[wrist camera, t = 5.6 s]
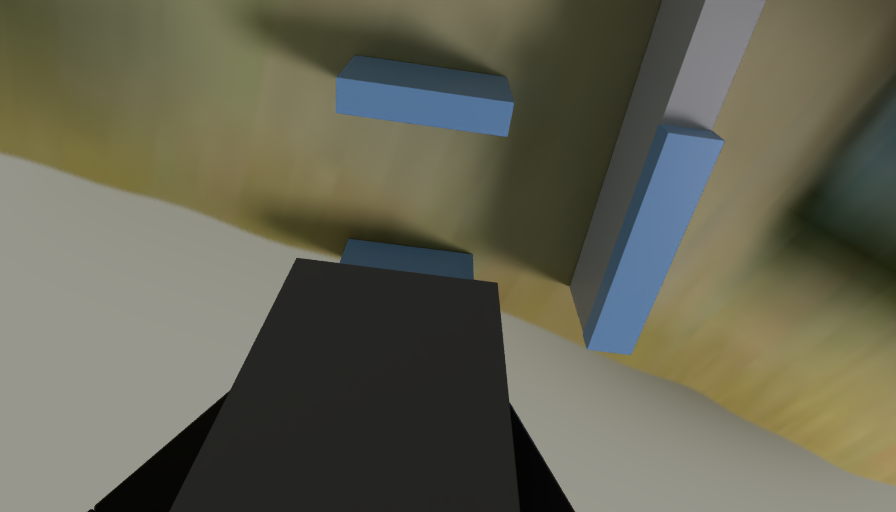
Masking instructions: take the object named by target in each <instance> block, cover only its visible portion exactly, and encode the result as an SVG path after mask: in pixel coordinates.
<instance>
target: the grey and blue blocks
mask: <svg viewBox="0 0 896 512" xmlns="http://www.w3.org/2000/svg"><path fill="white" fill-rule="evenodd" d="M765 2H766V0H662V2H661V5H660V9H659V12H658V15H657V18H656V21H655V24H654V27H653V30H652V33H651V36H650V40H649V43H648V46H647V49H646V52H645V55H644V58H643V61H642V64H641V67H640V71H639V74H638V77H637V80H636V83H635V86H634V89H633V92H632V95H631V98H630V102H629V105H628V108H627V111H626V114H625V117H624V120H623V123H622V126H621V129H620V133H619V136H618V139H617V142H616V145H615V148H614V151H613V154H612V157H611V160H610V164H609V167H608V170H607V173H606V176H605V179H604V182H603V185H602V188H601V192H600V195H599V198H598V201H597V204H596V207H595V210H594V213H593V216H592V219H591V223H590V226H589V229H588V232H587V235H586V238H585V241H584V244H583V247H582V250H581V254H580V257H579V260H578V263H577V266H576V269H575V272H574V275H573V278H572V281H571V285H570V290H571V293H572V297H573V300H574V303H575V307H576V310H577V313H578V317H579V320H580V323H581V327H582V330H583V338H584V341H585V344H586V348H587V350H593V351H602V352H610V353H619V354H627V355H631V354H632V351H633V349H634V347H635V345H636V342H637V340H638V338H639V335H640V333H641V331H642V329H643V326H644V324H645V322H646V319H647V317H648V315H649V313H650V310H651V308H652V306H653V304H654V301H655V299H656V297H657V294H658V292H659V290H660V288H661V285H662V283H663V281H664V278H665V276H666V274H667V272H668V269H669V267H670V265H671V263H672V260H673V258H674V256H675V253H676V251H677V249H678V247H679V244H680V242H681V240H682V237H683V235H684V233H685V231H686V228H687V226H688V224H689V222H690V219H691V217H692V215H693V212H694V210H695V208H696V206H697V203H698V201H699V199H700V196H701V194H702V192H703V190H704V187H705V185H706V183H707V180H708V178H709V176H710V174H711V171H712V169H713V167H714V165H715V162H716V160H717V158H718V155H719V153H720V151H721V149H722V146H723V144H724V142H725V141H724V140H723V139H722V138H721V137H719V136H718V135H717V134H716V133H714V132H713V131H711V130H712V128H713V126H714V123H715V121H716V118H717V116H718V114H719V111H720V109H721V107H722V104H723V102H724V99H725V97H726V95H727V92H728V90H729V88H730V85H731V83H732V80H733V78H734V76H735V73H736V71H737V68H738V66H739V64H740V61H741V59H742V57H743V54H744V52H745V49H746V47H747V45H748V42H749V40H750V37H751V35H752V33H753V30H754V28H755V26H756V23H757V21H758V18H759V16H760V14H761V11H762V9H763V7H764V4H765ZM513 107H514V100H513V97H512V93H511V90H510V87H509V83H508V80H507V77H503V76H496V75H489V74H482V73H475V72H469V71H462V70H455V69H448V68H441V67H434V66H427V65H420V64H414V63H407V62H400V61H393V60H386V59H379V58H372V57H366V56H359V55H355V56H354V57H353V58H352V59H351V61H350V62H349V63H348V64H347V65H346V67H345V68H344V69H343V70H342V71H341V72H340V74H339V75H338V76H337V77H336V113H339V114H347V115H354V116H361V117H368V118H375V119H383V120H390V121H397V122H404V123H411V124H418V125H426V126H433V127H440V128H447V129H454V130H461V131H469V132H476V133H483V134H490V135H497V136H505V137H508V132H509V127H510V122H511V117H512V112H513ZM340 263H342V264H350V265H358V266H366V267H374V268H382V269H390V270H398V271H406V272H414V273H422V274H430V275H438V276H446V277H454V278H462V279H470V280H474V276H473V254H466V253H458V252H450V251H442V250H434V249H426V248H418V247H410V246H402V245H395V244H387V243H379V242H371V241H363V240H355V239H348V241H347V244H346V247H345V249H344V252H343V255H342V258H341V260H340Z"/></svg>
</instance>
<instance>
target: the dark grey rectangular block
mask: <svg viewBox="0 0 896 512" xmlns="http://www.w3.org/2000/svg"><path fill="white" fill-rule="evenodd" d="M169 512H520V507H519V496H518V486H517V476H516V466H515V456H514V446H513V435H512V425H511V415H510V405H509V395H508V386H507V374H506V364H505V354H504V344H503V334H502V324H501V313H500V303H499V293H498V283H495V282H486V281H478V280H470V279H462V278H454V277H446V276H438V275H430V274H422V273H414V272H406V271H398V270H390V269H382V268H374V267H366V266H358V265H350V264H342V263H334V262H326V261H317V260H310V259H301V258H296V260H295V262H294V264H293V266H292V268H291V270H290V272H289V274H288V276H287V278H286V280H285V282H284V284H283V286H282V288H281V290H280V292H279V294H278V296H277V298H276V300H275V302H274V304H273V306H272V308H271V310H270V312H269V314H268V316H267V318H266V320H265V322H264V324H263V326H262V328H261V330H260V332H259V334H258V336H257V338H256V340H255V342H254V344H253V346H252V348H251V350H250V352H249V354H248V356H247V358H246V360H245V362H244V364H243V366H242V368H241V370H240V372H239V374H238V376H237V378H236V380H235V382H234V384H233V386H232V388H231V390H230V392H229V394H228V396H227V398H226V400H225V402H224V404H223V406H222V408H221V410H220V412H219V414H218V416H217V418H216V420H215V422H214V424H213V426H212V428H211V430H210V432H209V434H208V436H207V438H206V440H205V442H204V444H203V446H202V448H201V450H200V452H199V454H198V456H197V458H196V460H195V462H194V463H193V465H192V467H191V469H190V471H189V473H188V475H187V477H186V479H185V481H184V483H183V485H182V487H181V489H180V491H179V493H178V495H177V497H176V499H175V501H174V503H173V505H172V507H171V509H170V511H169Z"/></svg>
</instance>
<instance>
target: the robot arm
mask: <svg viewBox="0 0 896 512" xmlns="http://www.w3.org/2000/svg"><path fill="white" fill-rule="evenodd" d="M229 392H230V391H229ZM229 392H228V393H226V394H225V395H224V396H223V397H222V398H220V399H219V400H218V401H217V402H216V403H215V404H214V405H212V406H211V407H210V408H209V409H208V410H206V411H205V412H204V413H203V414H202V415H200V416H199V418H197V419H196V420H195V421H194V422H192V423H191V424H190V425H189V426H188V427H186V428H185V429H184V430H183V431H182V432H181V433H179V434H178V435H177V436H176V437H175V438H174V439H172V440H171V441H170V442H169V443H168V444H167V445H165V446H164V447H163V448H162V449H161V450H159V451H158V452H157V453H156V454H155V455H154V456H152V457H151V458H150V459H149V460H148V461H147V462H146V463H144V464H143V465H142V466H141V467H140V468H138V469H137V470H136V471H135V472H134V473H133V474H131V475H130V476H129V477H128V478H127V479H126V480H124V481H123V482H122V483H121V484H120V485H118V486H117V487H116V488H115V489H114V490H113V491H111V492H110V493H109V494H108V495H107V496H106V497H104V498H103V499H102V500H101V501H100V502H99V503H97V504H96V505H95V507H94V510H93V509H90V510H89V511H88V512H169V511H170V509H171V507H172V505H173V503H174V501H175V499H176V497H177V495H178V493H179V491H180V489H181V487H182V485H183V483H184V481H185V479H186V477H187V475H188V473H189V471H190V469H191V467H192V465H193V463H194V462H195V460H196V458H197V456H198V454H199V452H200V450H201V448H202V446H203V444H204V442H205V440H206V438H207V436H208V434H209V432H210V430H211V428H212V426H213V424H214V422H215V420H216V418H217V416H218V414H219V412H220V410H221V408H222V406H223V404H224V402H225V400H226V398H227V396H228V394H229ZM509 405H510V415H511V425H512V435H513V446H514V456H515V466H516V476H517V486H518V496H519V507H520V512H575V511H574V509H573V508H572V506H571V504H570V503H569V501H568V499H567V498H566V496H565V494H564V493H563V491H562V489H561V487H560V486H559V484H558V482H557V481H556V479H555V477H554V476H553V474H552V472H551V471H550V469H549V467H548V466H547V464H546V462H545V461H544V459H543V457H542V456H541V454H540V452H539V451H538V449H537V447H536V445H535V444H534V442H533V440H532V439H531V437H530V435H529V434H528V432H527V430H526V429H525V427H524V425H523V424H522V422H521V420H520V419H519V417H518V415H517V414H516V412H515V410H514V409H513V407H512V405H511V404H510V402H509Z"/></svg>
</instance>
